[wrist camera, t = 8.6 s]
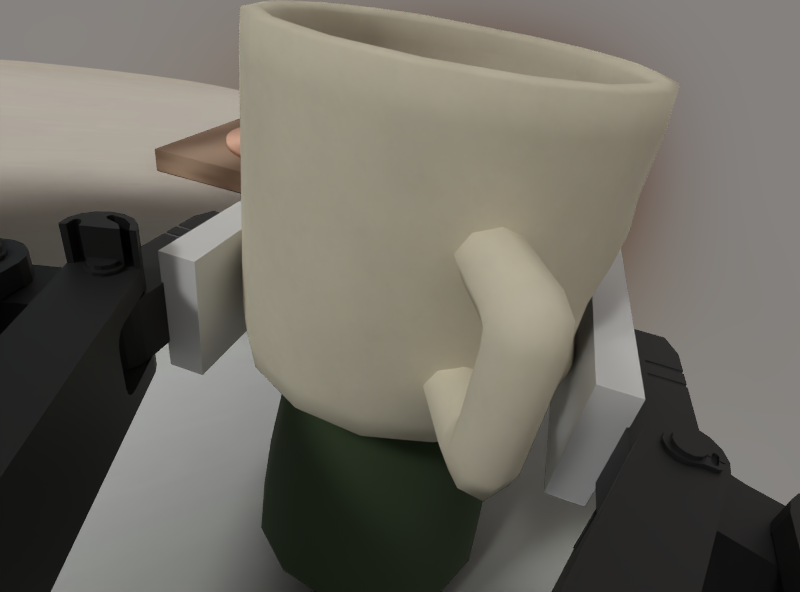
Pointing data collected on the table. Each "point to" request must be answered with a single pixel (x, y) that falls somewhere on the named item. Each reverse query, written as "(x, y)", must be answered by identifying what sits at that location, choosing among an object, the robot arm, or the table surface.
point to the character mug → (420, 266)
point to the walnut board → (206, 157)
